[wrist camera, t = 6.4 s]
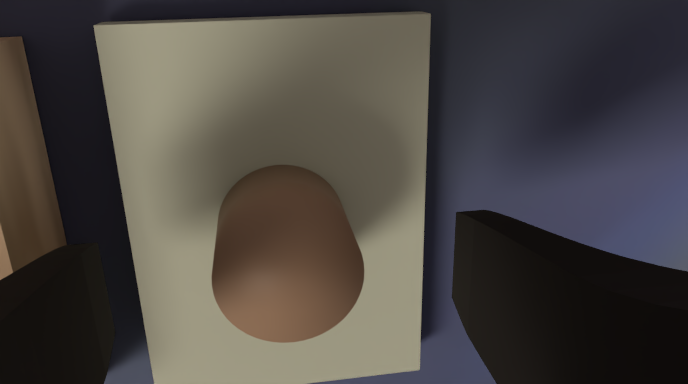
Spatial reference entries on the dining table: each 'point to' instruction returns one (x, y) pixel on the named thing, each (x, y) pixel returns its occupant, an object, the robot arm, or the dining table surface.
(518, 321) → the robot arm
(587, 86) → the dining table surface
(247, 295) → the lid
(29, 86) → the box
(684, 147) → the dining table surface
